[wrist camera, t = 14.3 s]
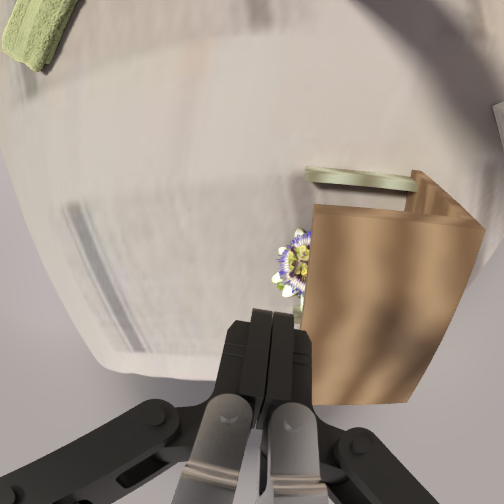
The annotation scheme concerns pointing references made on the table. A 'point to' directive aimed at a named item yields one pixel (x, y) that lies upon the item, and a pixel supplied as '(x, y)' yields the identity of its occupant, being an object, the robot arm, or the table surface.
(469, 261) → the shelf
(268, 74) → the table surface
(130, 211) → the table surface
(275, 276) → the passion flower
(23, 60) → the washcloth
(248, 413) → the robot arm
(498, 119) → the supplement box
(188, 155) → the table surface
